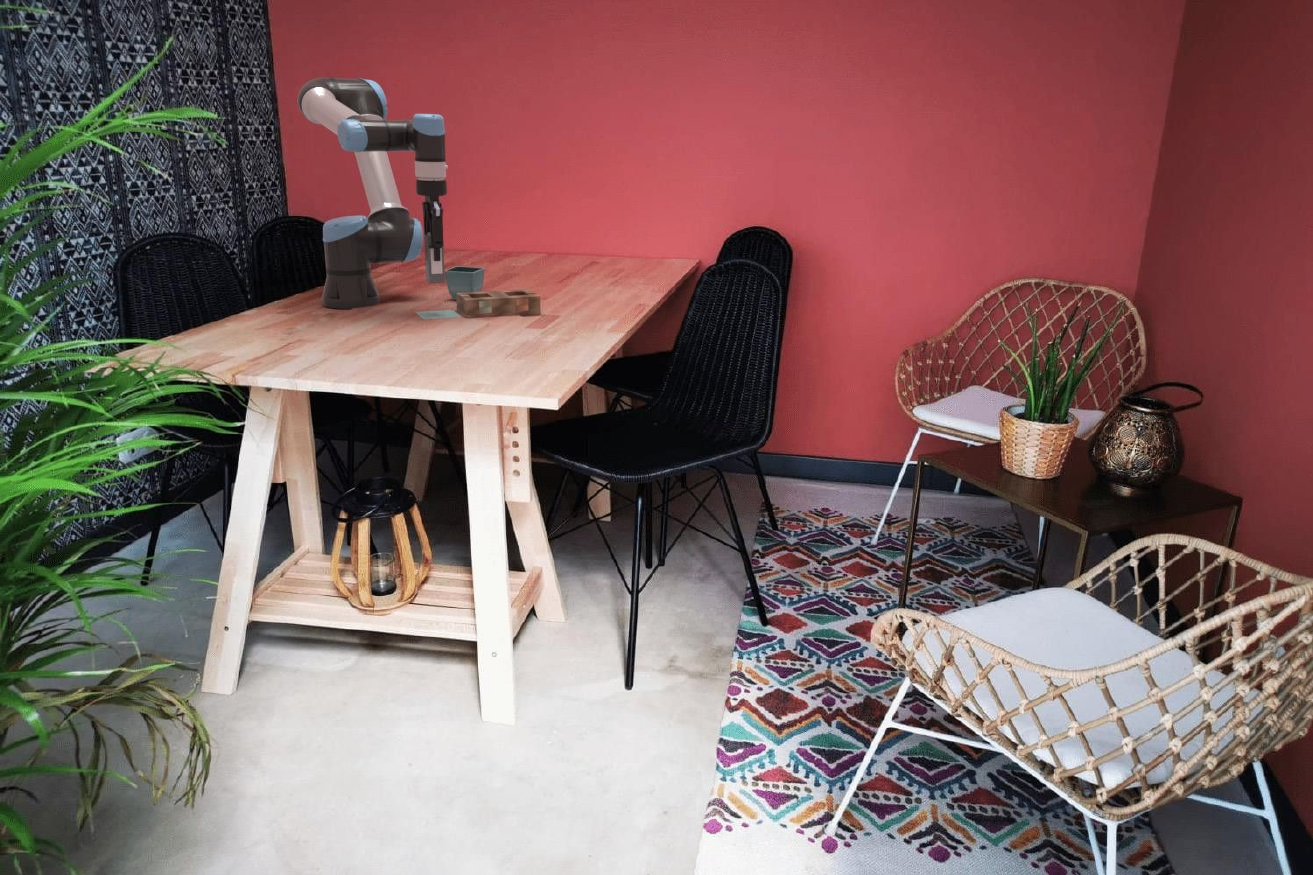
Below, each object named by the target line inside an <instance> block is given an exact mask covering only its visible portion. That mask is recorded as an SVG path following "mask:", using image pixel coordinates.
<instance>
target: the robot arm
mask: <svg viewBox="0 0 1313 875" xmlns="http://www.w3.org/2000/svg"><path fill="white" fill-rule="evenodd" d="M296 99H297V100H296V102H297V103H296V104H297V106H298V110H299V111H300V113H301V114H302V115H303V117H304V118H306V119H307V120H308V121H310V122H311V123H313V124H317V125H321V126H323V127H325V128H326V129H328V130H330V131H331V132H332V133H333V134H335V135H336V136H337V140H338V143H339V144H340V147H341V149H342V150H344V151H345V152H353V153H354V156H355V158H356V162H357V165H358V170H359V173H360V177H361V181H362V184H363V188H364V192H365V195H366V199H367V203H368V207H369V210H370V212H369V215H368V216H366V215H347V216H340V217H335V218H332V219H329V220H327V221H325V223H324V224H323V225H322V242H323V248H324V250H323V251H324V260H325V261H324V262H325V271H326V272H325V273H326V278H325V283H324V287H323V290H322V294H321V295H322V296H321V303H322V306H323V307H326V308H331V309H344V310H347V309H348V310H350V309H357V308H359V309H361V308H366V307H367V308H368V307H372V306H376V305H379V304H381V301H380V294H379V291H378V289H377V286H376V283H375V281H374V279H373V277H372V269H371V268H372V267H371V265H377V264H393V263H394V264H395V263H406V262H412V261H414V260H417V259H418V258H419V257H420V255H421V253H422V249H423V244H424V234H428V232H430V235H431V246H429V249H430V251H431V273H432V274H442V273H443V272H442V247H444V245H445V243H444V222H443V216H444V215H443V213H444V209H443V207H442V205H443V204H442V203H441V202H440V197H442V196H443V197H444V196H446V195H447V193H448V189H447V188H448V186H447V181H446V179H445V178H447V170H448V169H449V166H448V165H447V163H446V161H447V160H446V129H445V118H444V117H443V116H442V115H441V114H437V113H436V114H435V113H432V114H431V113H415V114H413V119H402V120H401V119H400V120H399V119H398V120H395V119H394V120H393V119H392V120H391V119H387V117H388V112H389V111H388V107H387V105H388V100H387V97H386V95H385V92H384V90H383V88H382V87H381V85H380V84H379V83H378V82H376V81H374V80H372V79H364V78H360V77H359V78H356V79H355V78H341V77H340V78H338V77H337V78H336V77H327V76H326V77H317V78H314V79H313V78H312V79H311V80H309V81H308V82H306V83H304V84H303V85H302V87H301V88H300V89H299V91H298V94H297V98H296ZM388 152H414V174H415V177H416V178H417V179H416V180H415V186H416V187H415V188H416V194H417V195H418V196H421V197H422V196H423V197H424V201H423V202H422V203H421V207H422V215H423V217H422V218H423V227H422V223H421V221H420V220H419V219H418V218H414V217H411V214H410V211H409V209H408V208H407V207H404V206H403V205H402V202H401V198H400V194H399V191H398V187H397V184H396V180H395V177H394V174H393V170H392V167H391V162H390V159H389V155H388Z"/></svg>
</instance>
